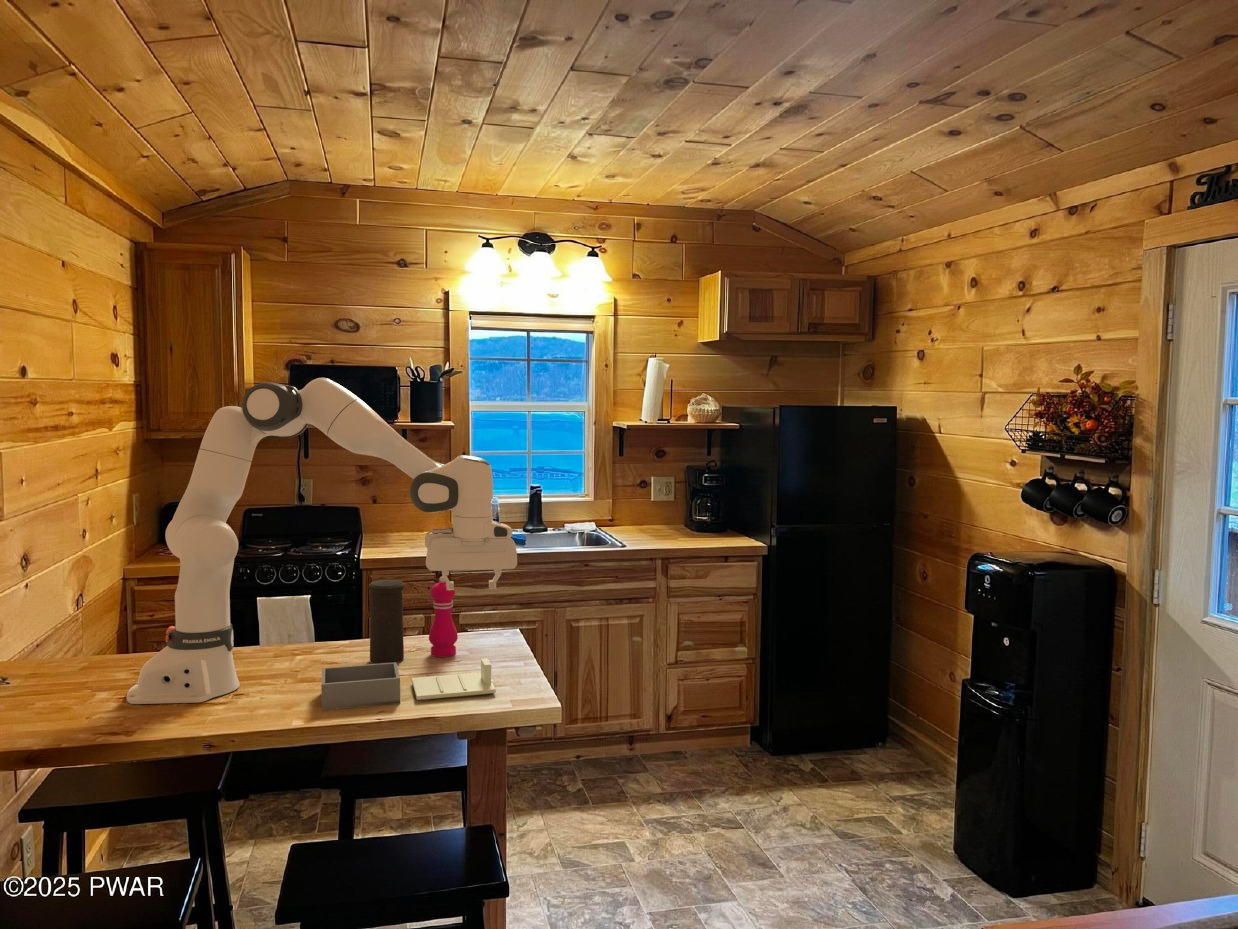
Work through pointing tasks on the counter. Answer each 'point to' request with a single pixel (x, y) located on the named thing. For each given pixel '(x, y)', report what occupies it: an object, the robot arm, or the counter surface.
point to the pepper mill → (442, 621)
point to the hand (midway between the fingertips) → (471, 589)
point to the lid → (455, 684)
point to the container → (386, 621)
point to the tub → (360, 686)
